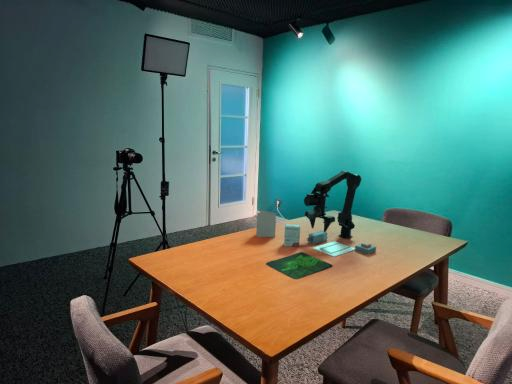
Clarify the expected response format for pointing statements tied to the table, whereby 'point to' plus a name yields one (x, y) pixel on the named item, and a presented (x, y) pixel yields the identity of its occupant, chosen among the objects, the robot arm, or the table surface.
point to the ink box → (292, 235)
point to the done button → (366, 244)
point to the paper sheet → (334, 248)
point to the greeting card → (266, 224)
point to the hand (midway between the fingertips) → (318, 230)
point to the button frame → (365, 249)
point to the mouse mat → (299, 265)
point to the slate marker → (317, 237)
